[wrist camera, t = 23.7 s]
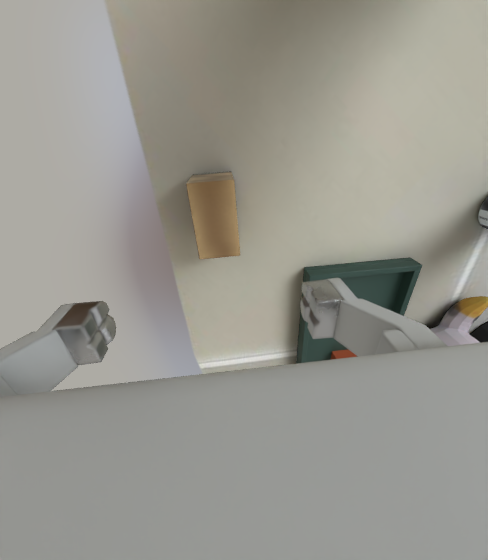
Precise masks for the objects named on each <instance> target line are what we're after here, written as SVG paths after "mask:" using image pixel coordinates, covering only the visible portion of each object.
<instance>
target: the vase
mask: <svg viewBox="0 0 488 560" xmlns="http://www.w3.org/2000/svg"><path fill="white" fill-rule="evenodd" d="M471 336H472V337H474V338H475V339H476V340H478V341H479V342H480V343H482V342H488V322H487V323H485V324H483V325H482V326H480V327H479V328H477V329H476V330H475V331H474V332H472V333H471Z"/></svg>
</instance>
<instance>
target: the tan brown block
mask: <svg viewBox="0 0 488 560" xmlns="http://www.w3.org/2000/svg"><path fill="white" fill-rule="evenodd" d="M186 186H187V192H188V197H189V203H190V208H191V214H192V219H193V225H194V231H195V236H196V242H197V247H198V253H199V259H208V258H219V257H229V256H239V255H240V246H239V234H238V221H237V209H236V197H235V184H234V178H233V175H232V173H231V171H229V172H217V173H204V174H193V175H192V176H191V178H190V179H189V181H188V182H187V183H186Z"/></svg>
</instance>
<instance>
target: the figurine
mask: <svg viewBox="0 0 488 560" xmlns="http://www.w3.org/2000/svg"><path fill="white" fill-rule="evenodd" d="M487 307H488V297H483V296H480V297H470V298H466V299H463V300H461V301H459V302H457V303H456V304H455V305H453V306H452V307H451V308H450V309H449V310H448V311H447V312H446V314H445V315H444V317H443V318H442V320H441V322H440V324H439V325H438V326H437V327H434V328H431V329H430V330H431V331H432V332H433V333H434V334H436V335H437V336H438V337H439V338H440V339H441V340H442V341H443V342H444V343H445V344H446V345H447V346H456V345H465V344H473V343H480V342H479V341H478V340H476V339H475V338H474V337H472V336H471V335H469V333H468V330H469V328H470V327H471V325H472V324H473V322H474V321H475V320H476V319H477V318H478V317H479V316H480V315H481V314H482V313H483V311H484V310H485V309H486V308H487Z"/></svg>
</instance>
